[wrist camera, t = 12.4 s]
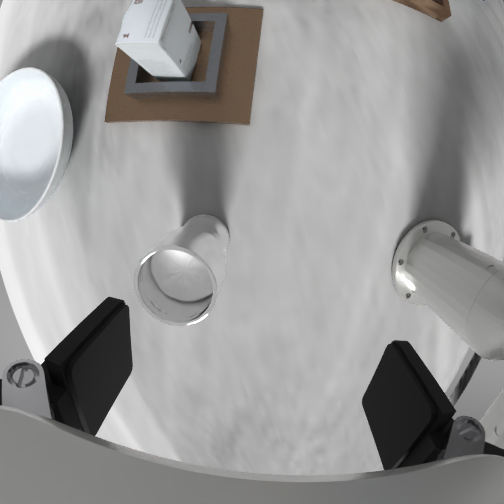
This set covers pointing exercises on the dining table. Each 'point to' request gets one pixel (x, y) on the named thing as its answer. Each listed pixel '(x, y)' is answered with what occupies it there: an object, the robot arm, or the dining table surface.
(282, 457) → the dining table surface
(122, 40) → the skincare box
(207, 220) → the beer glass
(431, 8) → the square wooden tray
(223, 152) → the dining table surface
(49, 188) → the serving bowl
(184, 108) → the board with square socket
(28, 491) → the robot arm
